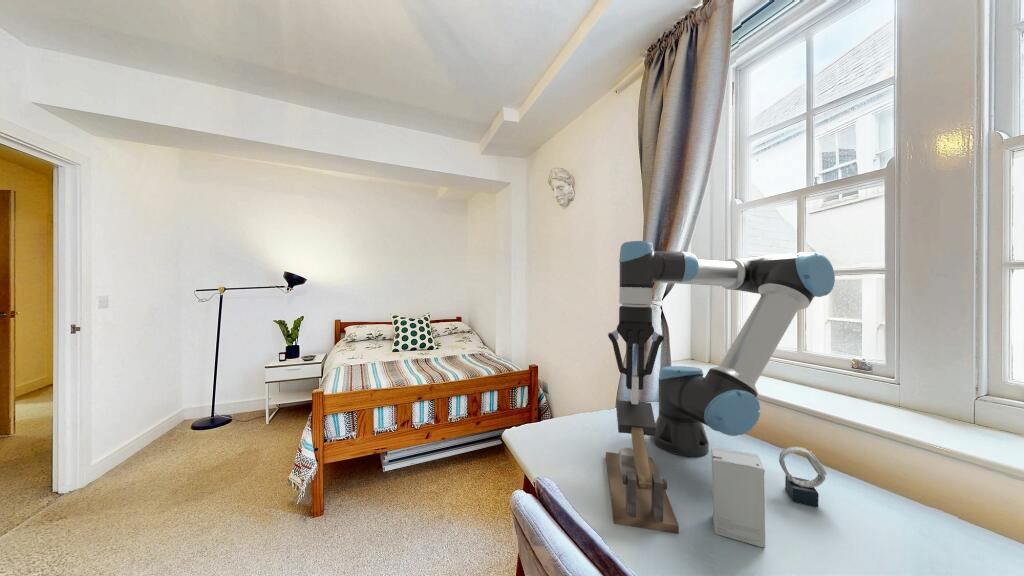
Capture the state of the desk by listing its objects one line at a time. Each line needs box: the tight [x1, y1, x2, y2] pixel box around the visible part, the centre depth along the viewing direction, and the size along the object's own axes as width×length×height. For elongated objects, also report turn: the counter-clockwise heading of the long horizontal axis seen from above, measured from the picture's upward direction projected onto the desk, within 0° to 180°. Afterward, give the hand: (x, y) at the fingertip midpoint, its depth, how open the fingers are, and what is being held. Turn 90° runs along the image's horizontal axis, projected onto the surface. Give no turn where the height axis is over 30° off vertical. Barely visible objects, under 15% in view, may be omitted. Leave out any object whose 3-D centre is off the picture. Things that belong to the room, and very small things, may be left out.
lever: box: [615, 399, 656, 490], centre depth 74 cm, size 8×20×3 cm, turn 167°
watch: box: [778, 446, 828, 508], centre depth 75 cm, size 6×8×11 cm
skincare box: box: [710, 446, 766, 549], centre depth 64 cm, size 8×6×15 cm
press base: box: [605, 446, 680, 534], centre depth 78 cm, size 12×26×9 cm, turn 167°
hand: (634, 402), depth 81 cm, fingers closed
